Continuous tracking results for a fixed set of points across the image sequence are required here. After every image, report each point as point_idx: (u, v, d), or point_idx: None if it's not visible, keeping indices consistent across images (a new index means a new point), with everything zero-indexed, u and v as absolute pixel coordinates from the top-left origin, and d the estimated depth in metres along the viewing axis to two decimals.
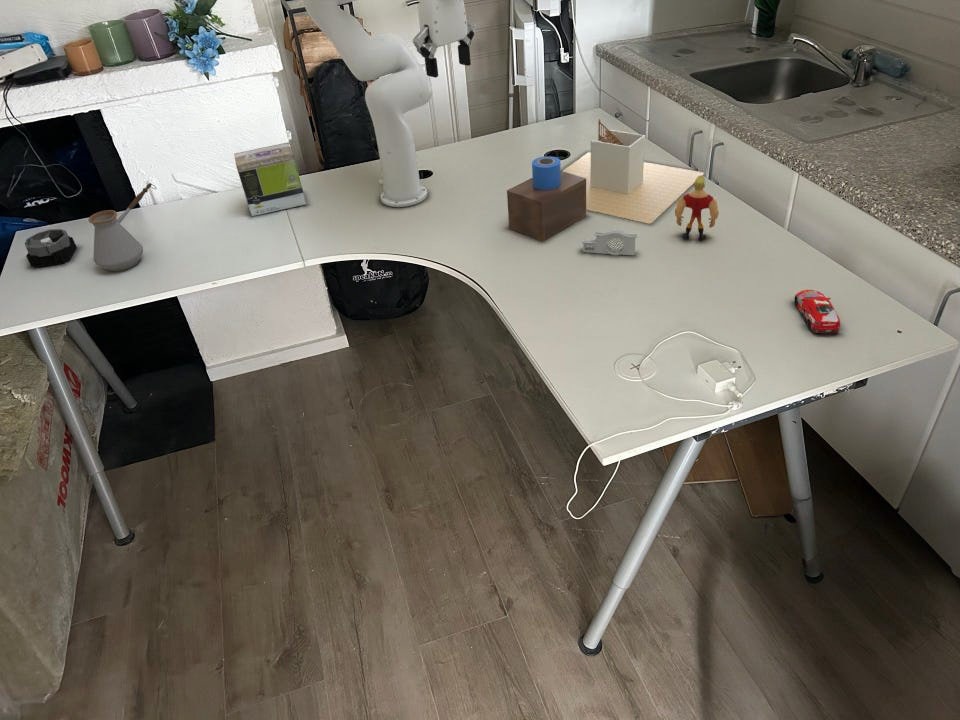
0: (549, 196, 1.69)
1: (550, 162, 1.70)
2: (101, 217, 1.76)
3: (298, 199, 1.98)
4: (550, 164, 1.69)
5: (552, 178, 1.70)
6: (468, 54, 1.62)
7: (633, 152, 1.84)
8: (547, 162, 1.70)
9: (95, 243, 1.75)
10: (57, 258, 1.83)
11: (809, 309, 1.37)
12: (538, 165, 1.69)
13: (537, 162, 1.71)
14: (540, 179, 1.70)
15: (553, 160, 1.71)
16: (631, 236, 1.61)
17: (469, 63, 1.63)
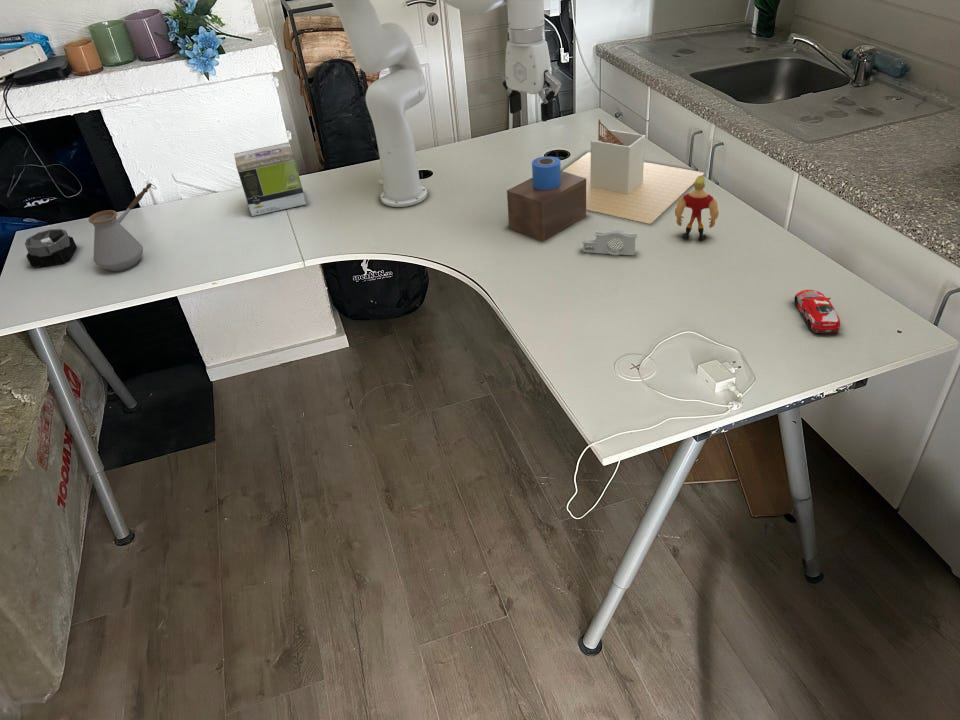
0: (549, 196, 1.69)
1: (550, 162, 1.70)
2: (101, 217, 1.76)
3: (298, 199, 1.98)
4: (550, 164, 1.69)
5: (552, 178, 1.70)
6: None
7: (633, 152, 1.84)
8: (547, 162, 1.70)
9: (95, 243, 1.75)
10: (57, 258, 1.83)
11: (809, 309, 1.37)
12: (538, 165, 1.69)
13: (537, 162, 1.71)
14: (540, 179, 1.70)
15: (553, 160, 1.71)
16: (631, 236, 1.61)
17: None
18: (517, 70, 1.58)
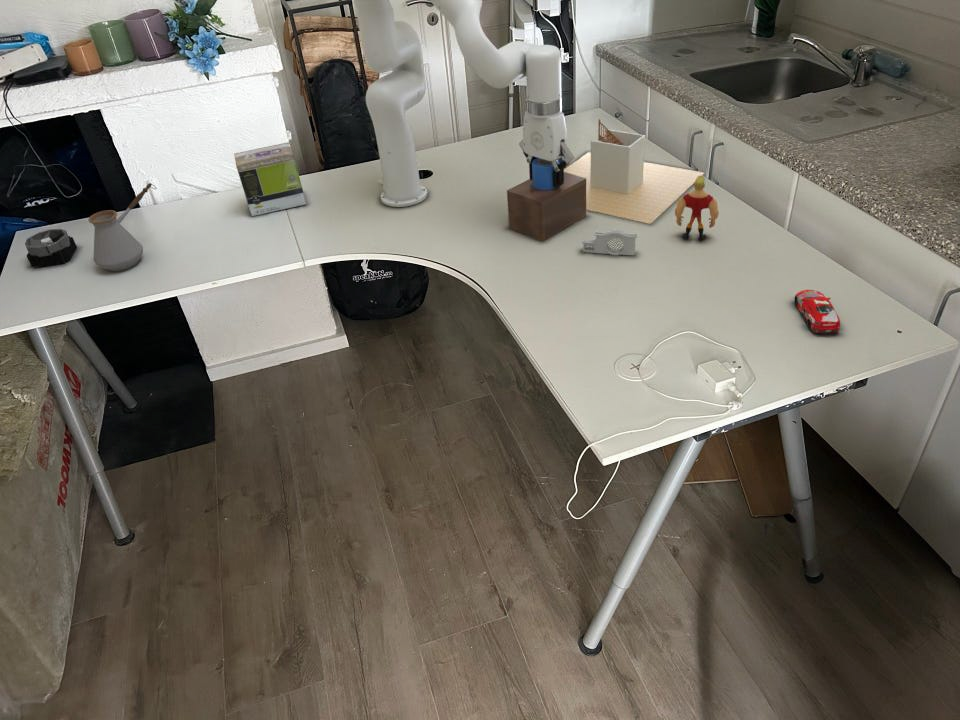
0: (549, 196, 1.69)
1: (550, 162, 1.70)
2: (101, 217, 1.76)
3: (298, 199, 1.98)
4: (550, 164, 1.69)
5: (552, 178, 1.70)
6: None
7: (633, 152, 1.84)
8: (547, 162, 1.70)
9: (95, 243, 1.75)
10: (57, 258, 1.83)
11: (809, 309, 1.37)
12: (538, 165, 1.69)
13: (537, 162, 1.71)
14: (540, 179, 1.70)
15: None
16: (631, 236, 1.61)
17: None
18: (534, 138, 1.66)
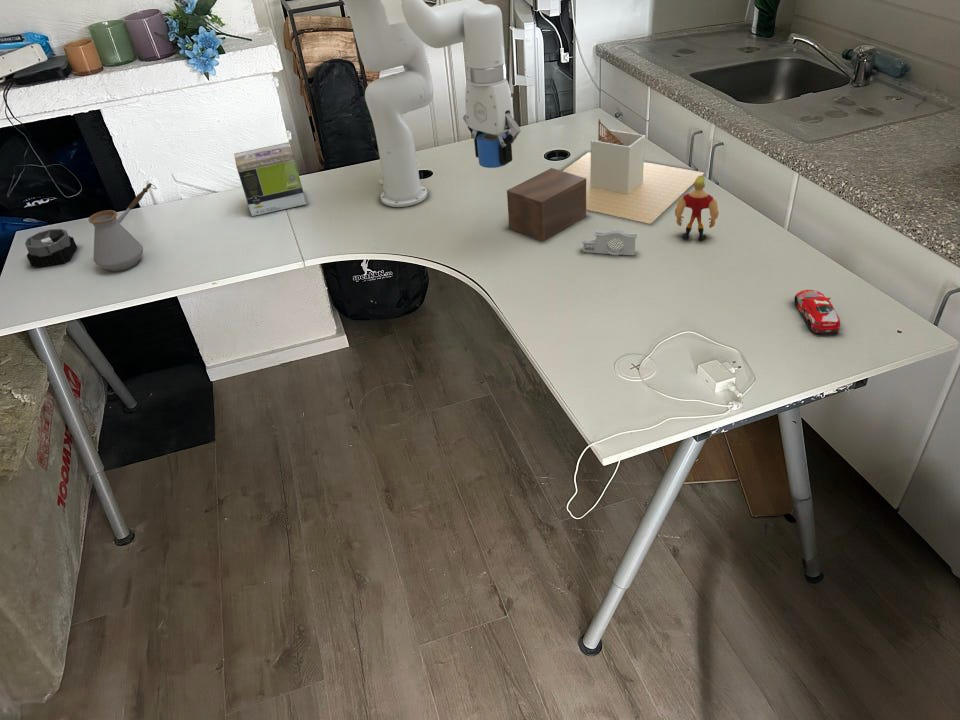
0: (549, 196, 1.69)
1: (496, 137, 1.54)
2: (101, 217, 1.76)
3: (298, 199, 1.98)
4: (496, 139, 1.54)
5: (498, 155, 1.54)
6: None
7: (633, 152, 1.84)
8: (493, 137, 1.54)
9: (95, 243, 1.75)
10: (57, 258, 1.83)
11: (809, 309, 1.37)
12: (483, 140, 1.54)
13: (482, 137, 1.55)
14: (485, 155, 1.54)
15: None
16: (631, 236, 1.61)
17: None
18: (477, 110, 1.50)
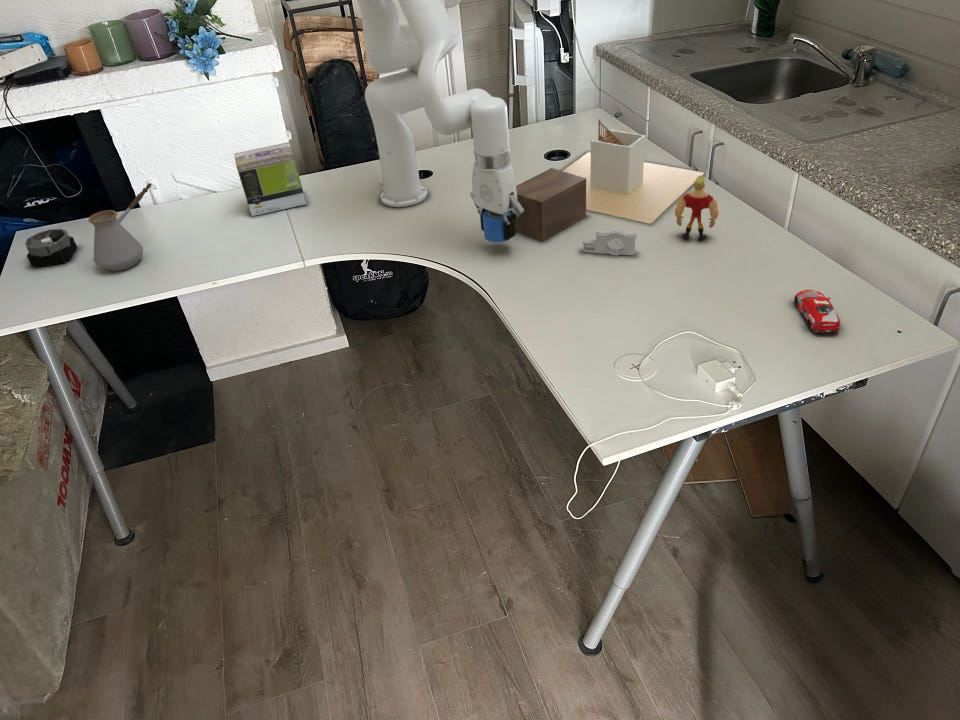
0: (549, 196, 1.69)
1: (501, 214, 1.65)
2: (101, 217, 1.76)
3: (298, 199, 1.98)
4: (501, 216, 1.64)
5: (503, 231, 1.65)
6: None
7: (633, 152, 1.84)
8: (498, 214, 1.65)
9: (95, 243, 1.75)
10: (57, 258, 1.83)
11: (809, 309, 1.37)
12: (488, 217, 1.64)
13: (488, 214, 1.66)
14: (491, 231, 1.65)
15: None
16: (631, 236, 1.61)
17: None
18: (483, 191, 1.61)
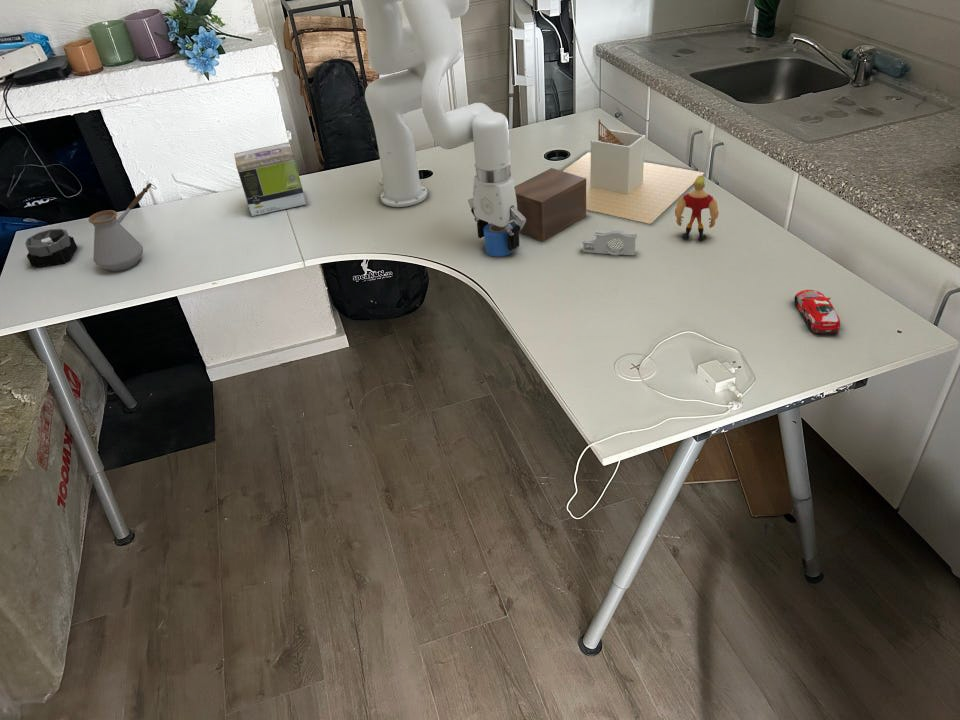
0: (549, 196, 1.69)
1: (502, 229, 1.67)
2: (101, 217, 1.76)
3: (298, 199, 1.98)
4: (502, 231, 1.66)
5: (503, 245, 1.67)
6: None
7: (633, 152, 1.84)
8: (499, 229, 1.67)
9: (95, 243, 1.75)
10: (58, 258, 1.83)
11: (809, 309, 1.37)
12: (489, 232, 1.66)
13: (489, 228, 1.68)
14: (492, 246, 1.67)
15: None
16: (631, 236, 1.61)
17: None
18: (484, 204, 1.63)
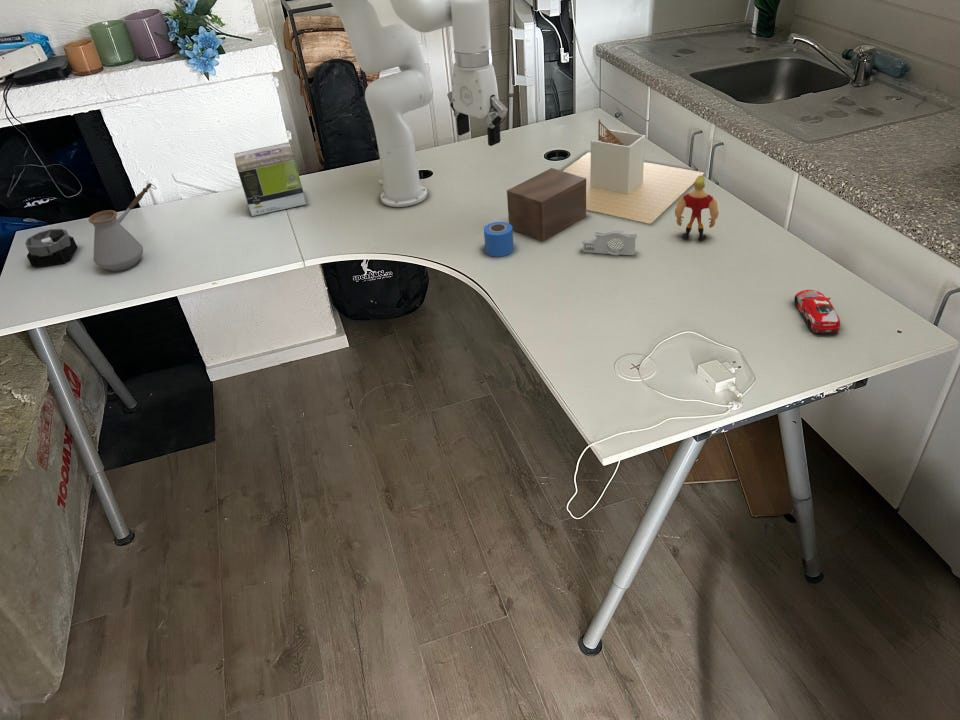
0: (549, 196, 1.69)
1: (502, 229, 1.67)
2: (101, 217, 1.76)
3: (298, 199, 1.98)
4: (502, 231, 1.66)
5: (503, 245, 1.67)
6: None
7: (633, 152, 1.84)
8: (499, 229, 1.67)
9: (95, 243, 1.75)
10: (58, 258, 1.83)
11: (809, 309, 1.37)
12: (489, 232, 1.66)
13: (489, 228, 1.68)
14: (492, 246, 1.67)
15: (505, 226, 1.68)
16: (631, 236, 1.61)
17: None
18: (463, 93, 1.54)
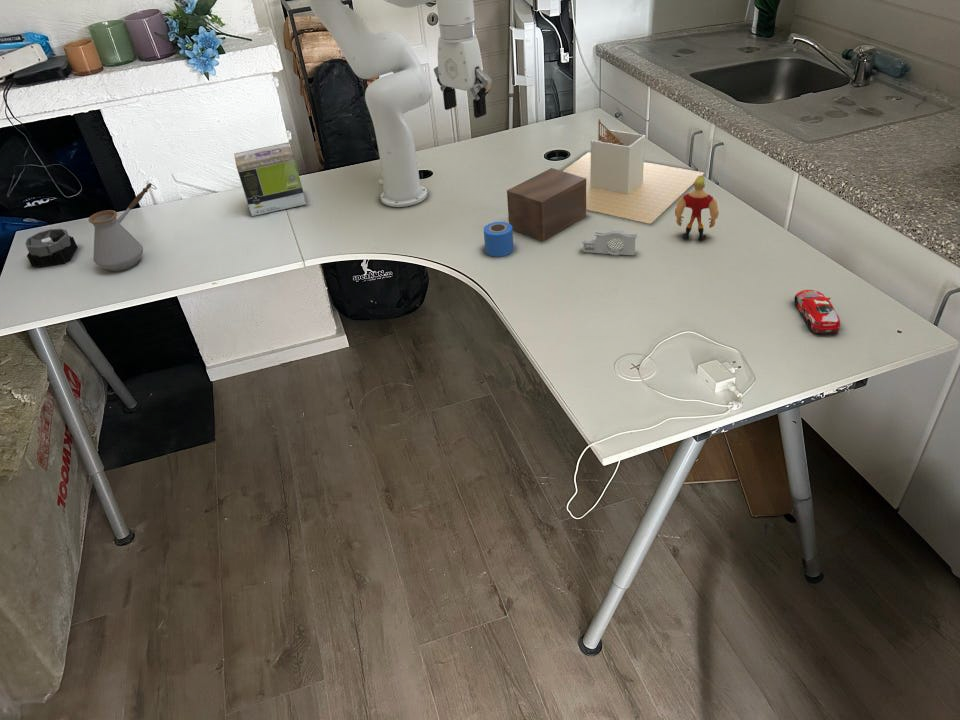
0: (549, 196, 1.69)
1: (502, 229, 1.67)
2: (101, 217, 1.76)
3: (298, 199, 1.98)
4: (502, 231, 1.66)
5: (503, 245, 1.67)
6: None
7: (633, 152, 1.84)
8: (499, 229, 1.67)
9: (95, 243, 1.75)
10: (58, 258, 1.83)
11: (809, 309, 1.37)
12: (489, 232, 1.66)
13: (489, 228, 1.68)
14: (492, 246, 1.67)
15: (505, 226, 1.68)
16: (631, 236, 1.61)
17: None
18: (449, 66, 1.57)
